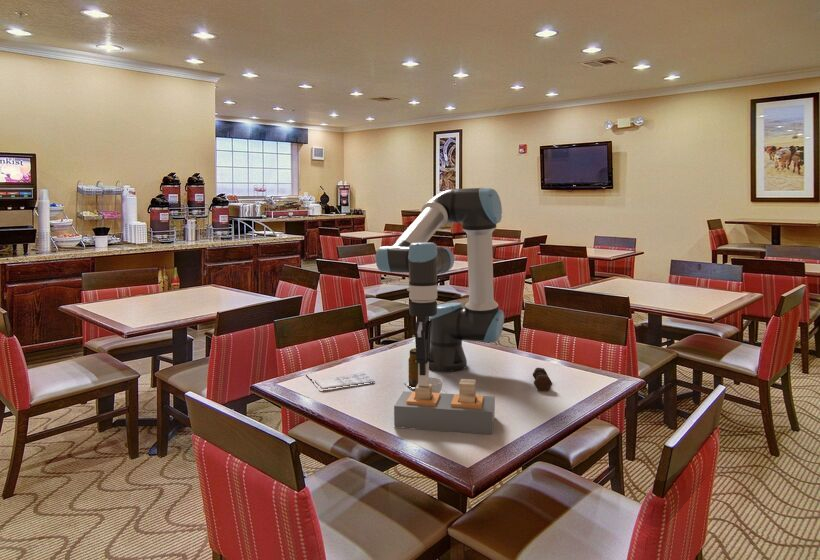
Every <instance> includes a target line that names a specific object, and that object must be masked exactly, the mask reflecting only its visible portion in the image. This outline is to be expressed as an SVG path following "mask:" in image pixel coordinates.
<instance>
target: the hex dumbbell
mask: <svg viewBox="0 0 820 560" xmlns="http://www.w3.org/2000/svg"><path fill="white" fill-rule="evenodd" d="M532 377H533V379H534V381H533V384H534V386H535V388H536V390H537V392H548V391H549V390H550V389H551V387H552V385H553V382H552V381H551V379H550V377H549V375H548V373H547V371H546V369H545V368H542V367H536V368H535V369H534V371H532Z"/></svg>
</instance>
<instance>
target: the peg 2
mask: <svg viewBox="0 0 820 560" xmlns="http://www.w3.org/2000/svg"><path fill="white" fill-rule="evenodd" d="M476 382H477V381H476V379H468V378H461V379H460V380H459V385H458V386H459V388H458V389H459V391H458V394H459V402H464V403H476V395H477V393H476V390H477V389H476V388H477V384H476Z"/></svg>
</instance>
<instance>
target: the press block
mask: <svg viewBox="0 0 820 560" xmlns="http://www.w3.org/2000/svg"><path fill="white" fill-rule="evenodd" d="M495 399H496V397H495V395H492V396H491V395H480V394H476V403H464V402H459V393H447V394H444V393H432V399H431V400H415V390H411V391H406V390H405V391H404V390H403V391H402V392H401V394H400V396H399V398H397V401H396V402H395V404H394V405H393V418H394V419H393V420H394V421H393V423H394V425H393V426H395V427H404V428H403V429H409V428H415V429H414V430H423V429H424V430H425V431H426V430H427V431H440V432H453V433H465V434H466V433H470V434H482V435H493V432H494V425H495V411H496V409H495V408H496V407H495V406H496V404H495V403H496V401H495ZM395 427H394V428H395ZM424 430H423V431H424Z"/></svg>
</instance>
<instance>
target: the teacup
mask: <svg viewBox="0 0 820 560" xmlns="http://www.w3.org/2000/svg"><path fill="white" fill-rule="evenodd" d="M429 384H432V393H444V394H448V393H447V392H446V391H444V390H442V389H443V380H442V378H440V377H432V376H431V377H430V376H429Z"/></svg>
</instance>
